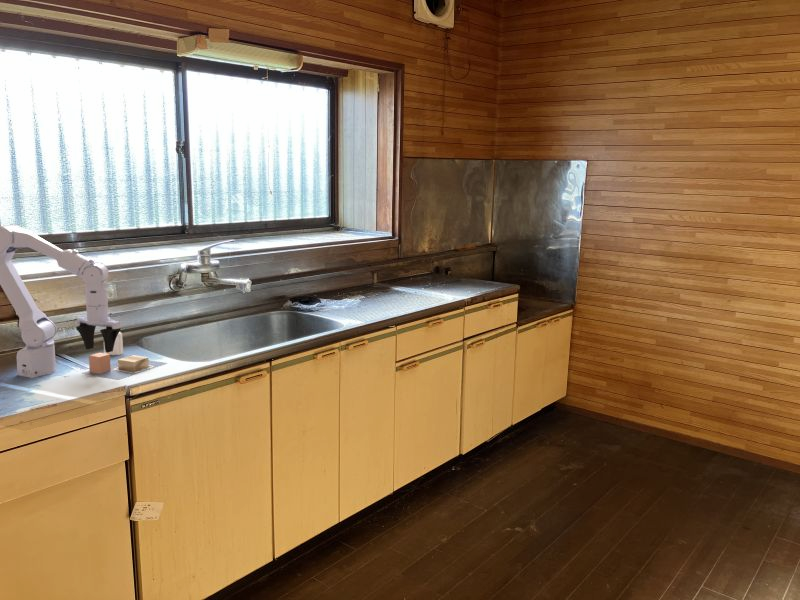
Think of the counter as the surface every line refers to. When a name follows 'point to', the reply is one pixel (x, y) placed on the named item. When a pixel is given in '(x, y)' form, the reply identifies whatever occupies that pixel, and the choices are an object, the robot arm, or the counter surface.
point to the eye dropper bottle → (117, 346)
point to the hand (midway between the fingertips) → (99, 350)
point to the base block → (133, 363)
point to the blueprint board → (123, 371)
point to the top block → (99, 363)
